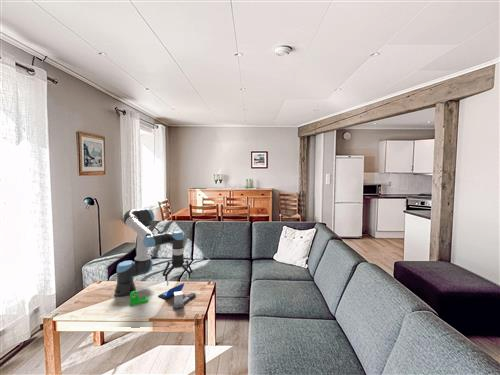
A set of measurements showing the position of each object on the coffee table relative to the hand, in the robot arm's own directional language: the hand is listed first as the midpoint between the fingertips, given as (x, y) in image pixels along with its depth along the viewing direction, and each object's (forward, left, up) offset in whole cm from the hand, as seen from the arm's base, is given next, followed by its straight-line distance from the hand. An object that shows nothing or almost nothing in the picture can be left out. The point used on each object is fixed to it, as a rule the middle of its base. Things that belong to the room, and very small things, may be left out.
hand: (177, 284), depth 190 cm
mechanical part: (-17, -25, -17) cm, 35 cm away
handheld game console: (-20, -3, -17) cm, 26 cm away
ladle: (0, 0, -16) cm, 16 cm away
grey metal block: (+1, 0, -13) cm, 13 cm away
